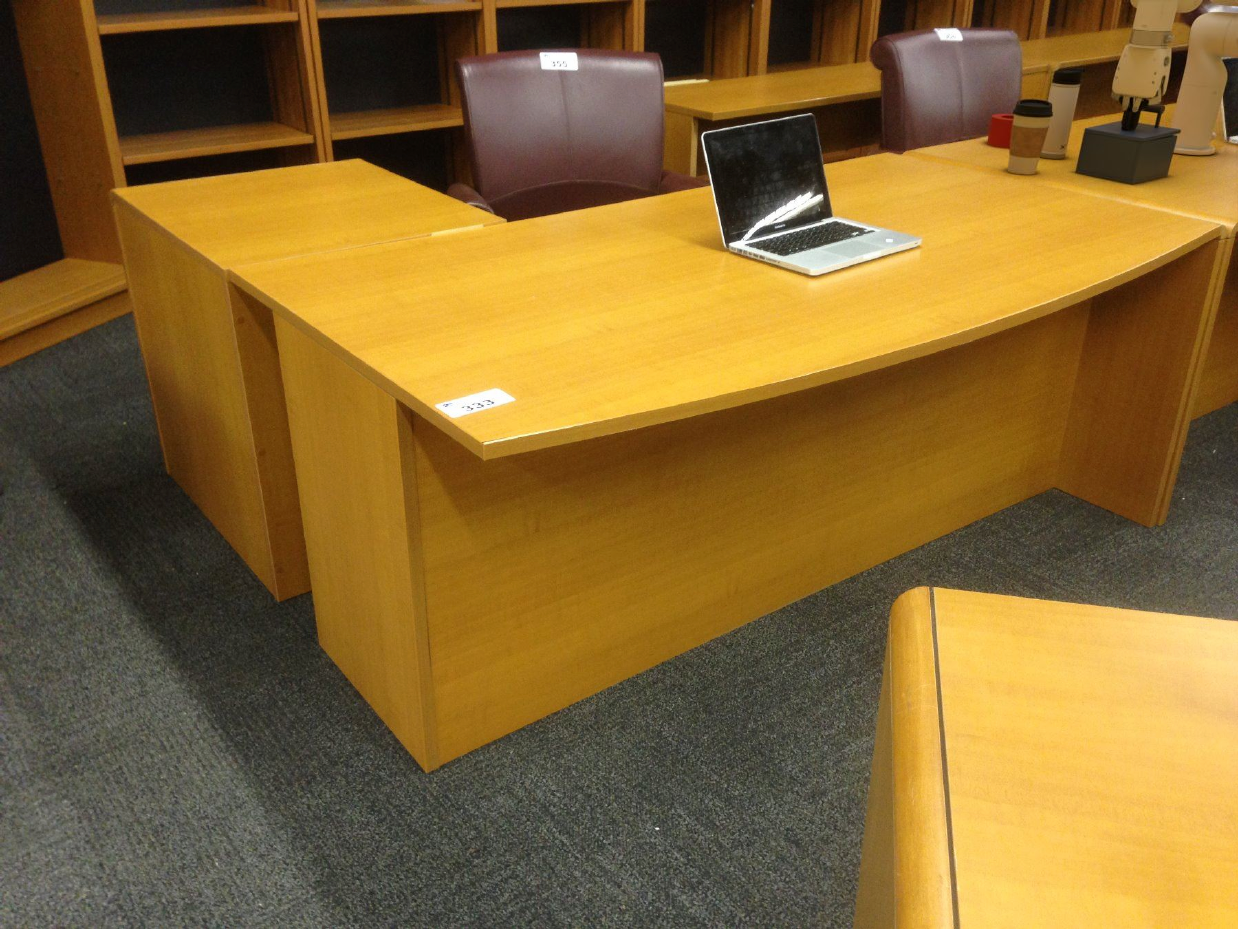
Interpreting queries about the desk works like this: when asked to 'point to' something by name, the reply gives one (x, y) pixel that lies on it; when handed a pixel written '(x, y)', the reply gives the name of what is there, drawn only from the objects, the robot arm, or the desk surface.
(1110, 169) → the dark grey hollow box
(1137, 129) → the lid
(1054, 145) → the travel mug
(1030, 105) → the coffee cup
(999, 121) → the lever
